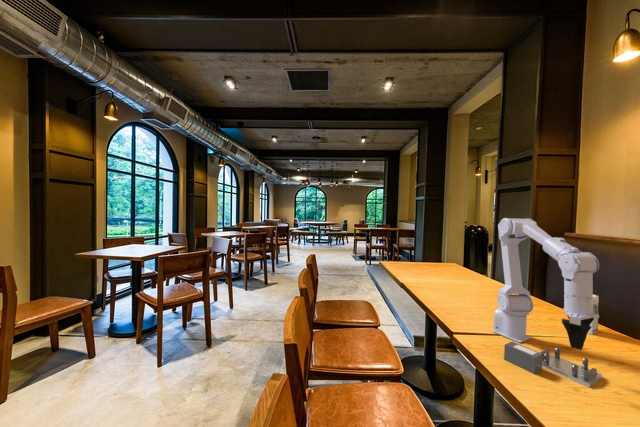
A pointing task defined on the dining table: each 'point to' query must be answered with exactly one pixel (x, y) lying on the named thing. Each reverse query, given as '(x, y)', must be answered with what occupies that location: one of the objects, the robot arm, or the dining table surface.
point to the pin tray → (570, 368)
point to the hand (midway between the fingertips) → (578, 344)
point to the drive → (523, 357)
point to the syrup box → (595, 310)
